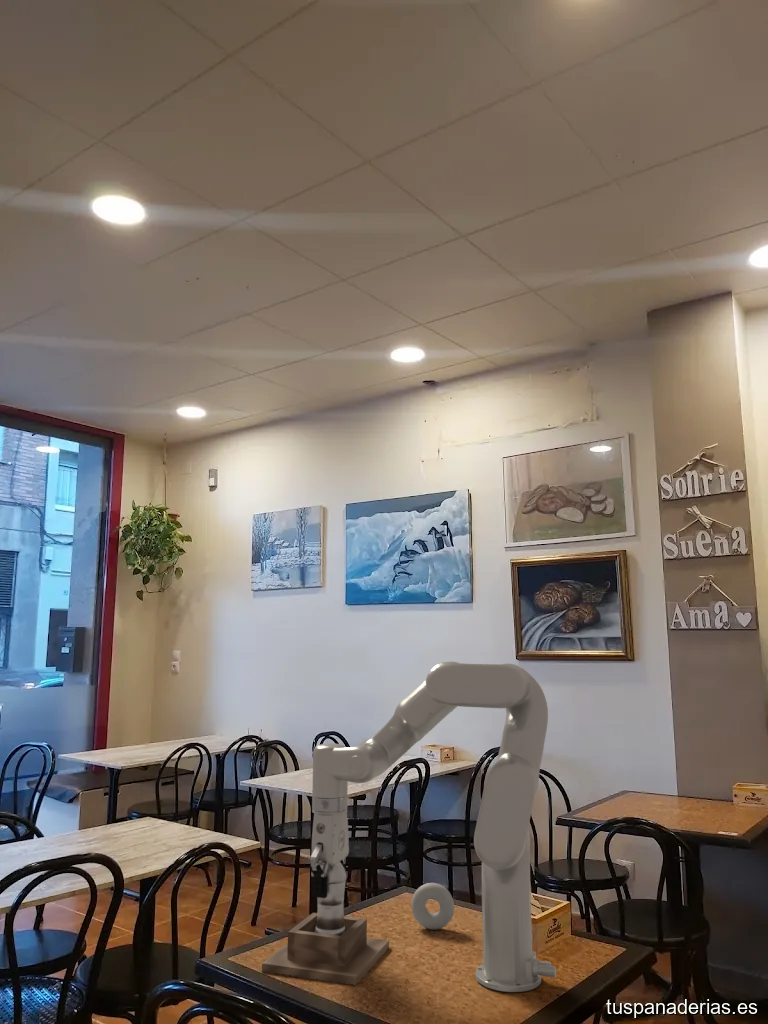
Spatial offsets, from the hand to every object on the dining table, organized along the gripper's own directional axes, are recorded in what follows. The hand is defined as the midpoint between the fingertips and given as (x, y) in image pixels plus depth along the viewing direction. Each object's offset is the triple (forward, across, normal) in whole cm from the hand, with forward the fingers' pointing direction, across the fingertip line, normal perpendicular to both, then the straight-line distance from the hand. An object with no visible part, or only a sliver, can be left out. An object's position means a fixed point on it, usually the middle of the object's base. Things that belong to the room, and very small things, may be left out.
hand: (328, 890), depth 161 cm
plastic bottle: (+12, 0, 0) cm, 12 cm away
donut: (+14, +24, -16) cm, 32 cm away
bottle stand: (+13, 0, 0) cm, 13 cm away
